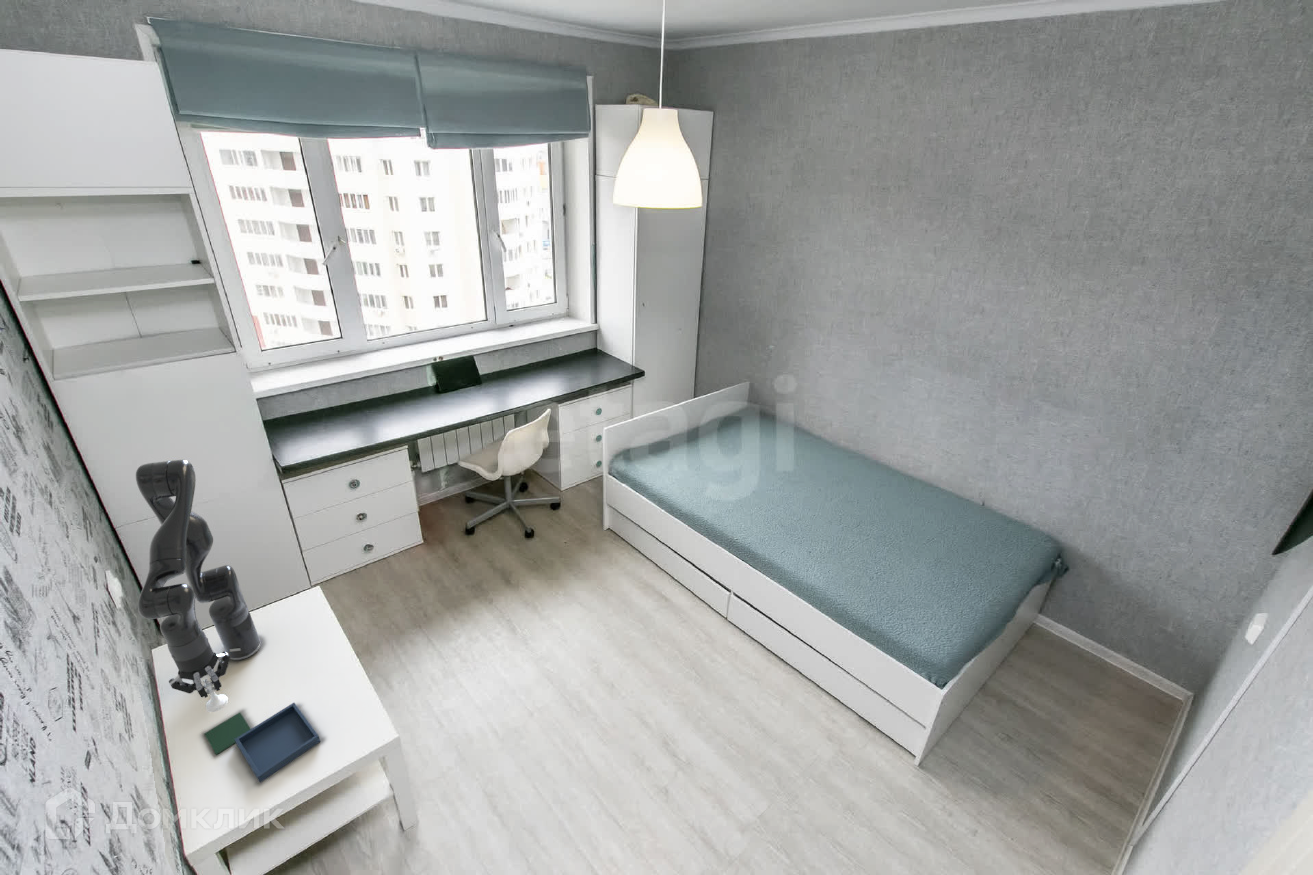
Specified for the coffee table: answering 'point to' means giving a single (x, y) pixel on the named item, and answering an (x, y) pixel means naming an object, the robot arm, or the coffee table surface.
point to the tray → (277, 741)
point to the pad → (226, 733)
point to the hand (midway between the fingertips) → (211, 691)
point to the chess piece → (214, 698)
